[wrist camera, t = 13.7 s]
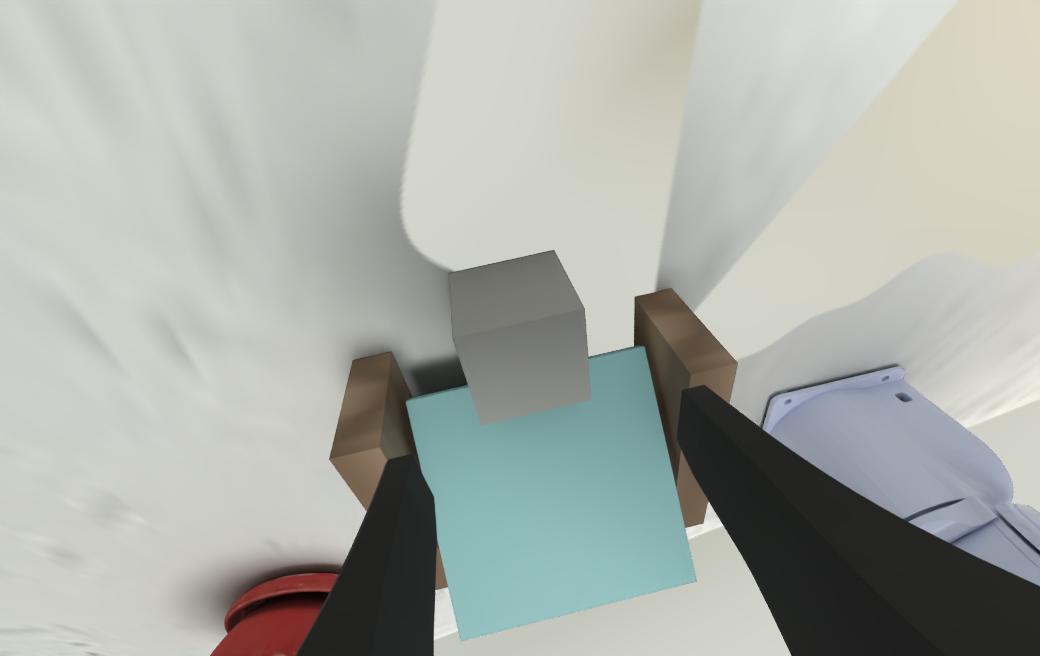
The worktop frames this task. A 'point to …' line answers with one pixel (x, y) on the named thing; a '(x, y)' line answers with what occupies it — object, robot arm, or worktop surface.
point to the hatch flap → (553, 500)
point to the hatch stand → (658, 327)
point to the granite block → (520, 336)
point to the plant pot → (275, 616)
